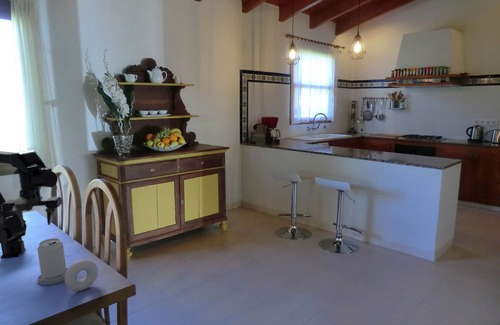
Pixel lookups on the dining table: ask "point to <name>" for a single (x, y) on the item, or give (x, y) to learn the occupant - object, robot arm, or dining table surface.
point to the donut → (86, 282)
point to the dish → (51, 280)
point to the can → (51, 258)
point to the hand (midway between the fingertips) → (35, 225)
